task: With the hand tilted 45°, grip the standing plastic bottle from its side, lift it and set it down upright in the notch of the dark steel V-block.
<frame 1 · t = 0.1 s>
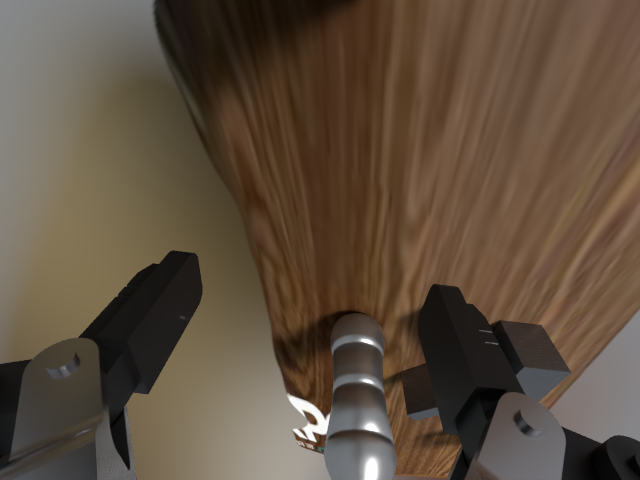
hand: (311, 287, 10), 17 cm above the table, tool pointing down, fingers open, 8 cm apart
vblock: (439, 344, 40), on the table
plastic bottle: (356, 321, 38), on the table
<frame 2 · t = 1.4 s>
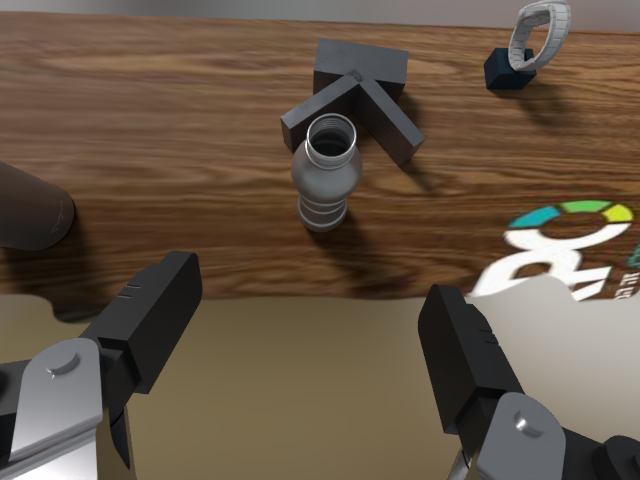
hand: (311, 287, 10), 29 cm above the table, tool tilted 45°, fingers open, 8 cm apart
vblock: (348, 139, 43), on the table
watch: (501, 77, 47), on the table
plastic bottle: (321, 213, 41), on the table
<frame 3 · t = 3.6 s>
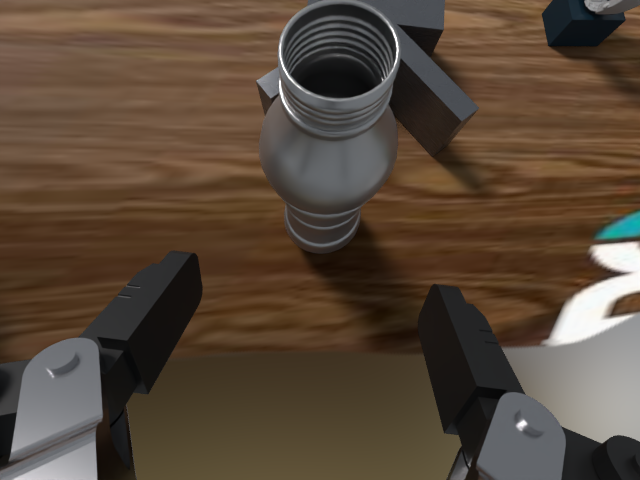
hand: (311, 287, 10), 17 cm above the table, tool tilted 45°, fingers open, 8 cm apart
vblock: (358, 119, 31), on the table
watch: (567, 30, 34), on the table
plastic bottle: (321, 224, 28), on the table
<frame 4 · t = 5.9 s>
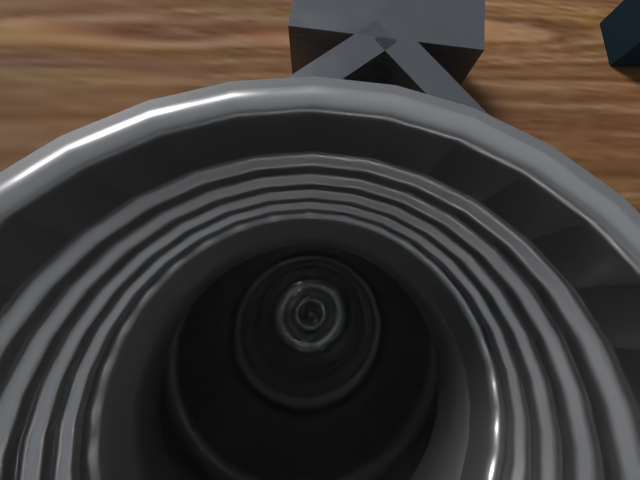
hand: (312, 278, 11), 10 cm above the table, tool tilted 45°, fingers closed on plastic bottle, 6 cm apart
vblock: (361, 165, 23), on the table
watch: (632, 45, 26), on the table
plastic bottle: (310, 314, 21), on the table, touching gripper
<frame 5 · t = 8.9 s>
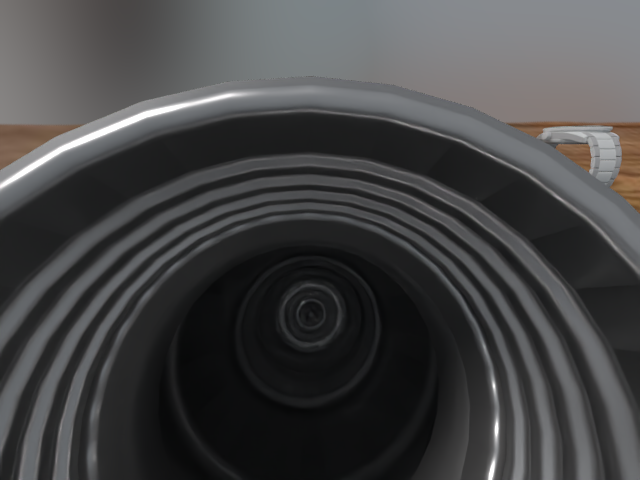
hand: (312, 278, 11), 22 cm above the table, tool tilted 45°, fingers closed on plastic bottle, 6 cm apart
watch: (515, 191, 35), on the table
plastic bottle: (310, 314, 21), point 12 cm above the table, touching gripper
when the fingers open (12 cm above the table, at t = 11.9 s): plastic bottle drops 1 cm, on the table.
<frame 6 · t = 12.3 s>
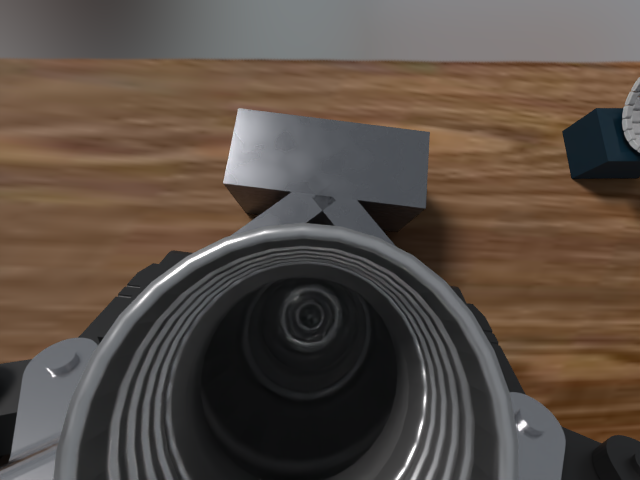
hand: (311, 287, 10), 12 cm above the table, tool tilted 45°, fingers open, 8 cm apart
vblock: (312, 292, 22), on the table
watch: (595, 154, 25), on the table
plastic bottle: (309, 316, 22), on the table
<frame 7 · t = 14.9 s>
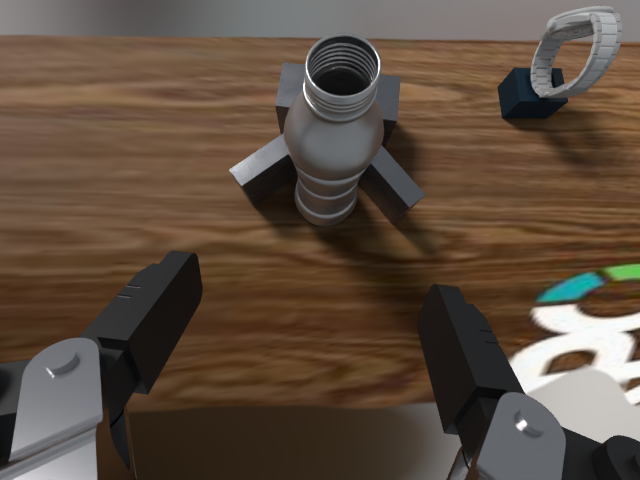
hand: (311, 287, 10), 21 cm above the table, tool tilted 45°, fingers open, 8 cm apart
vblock: (326, 188, 34), on the table
watch: (520, 103, 37), on the table
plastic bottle: (324, 203, 34), on the table
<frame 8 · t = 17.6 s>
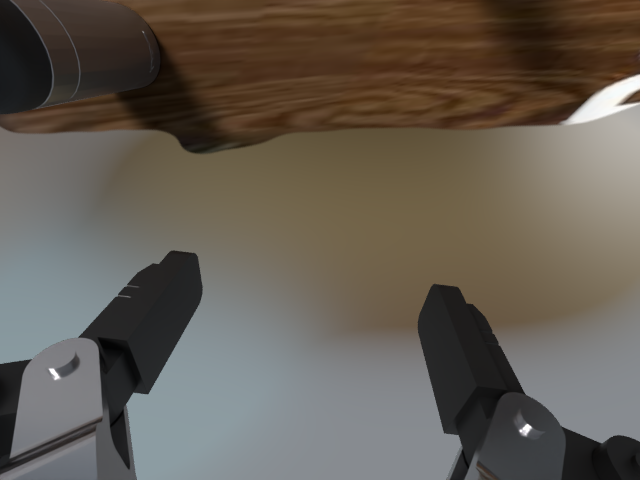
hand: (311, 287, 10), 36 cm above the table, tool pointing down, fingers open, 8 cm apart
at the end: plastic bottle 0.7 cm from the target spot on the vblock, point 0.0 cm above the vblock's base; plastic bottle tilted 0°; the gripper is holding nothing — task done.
